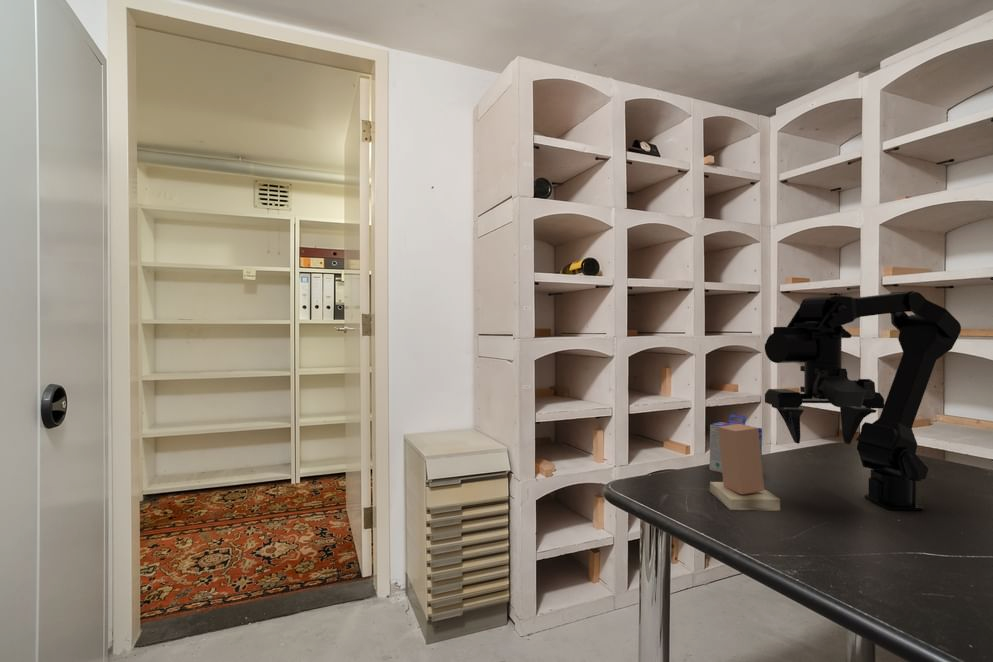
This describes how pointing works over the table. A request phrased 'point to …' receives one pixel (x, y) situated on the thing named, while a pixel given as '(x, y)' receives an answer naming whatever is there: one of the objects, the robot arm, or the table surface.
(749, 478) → the column
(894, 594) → the table surface
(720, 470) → the ink cartridge box
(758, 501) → the top slab
